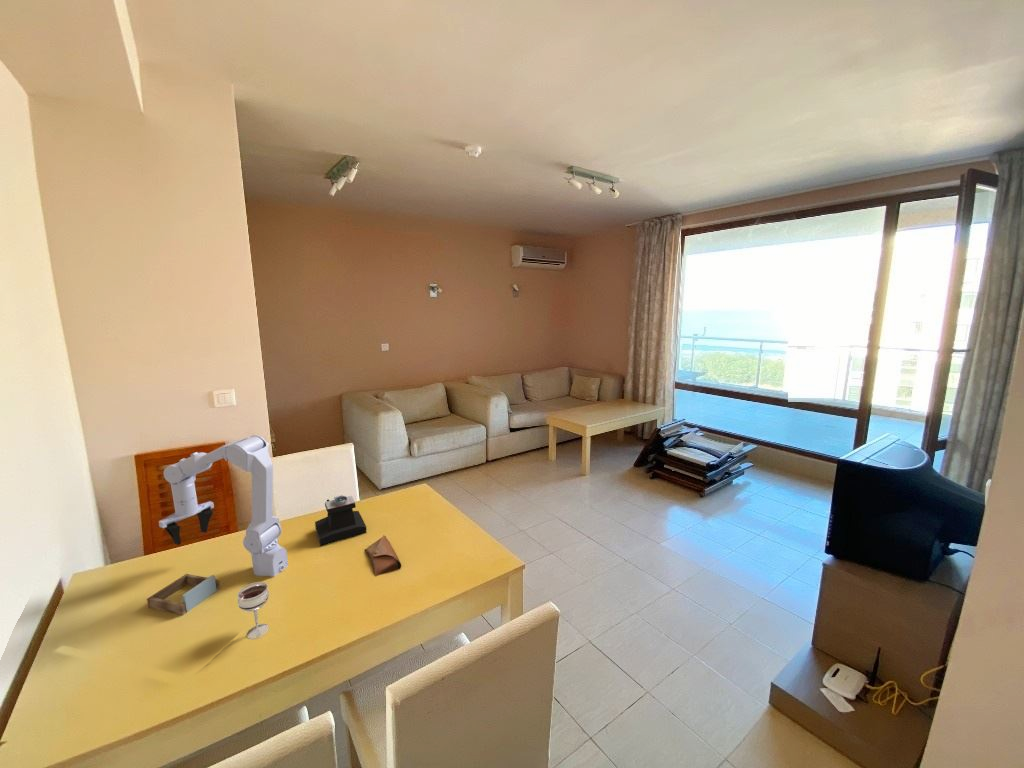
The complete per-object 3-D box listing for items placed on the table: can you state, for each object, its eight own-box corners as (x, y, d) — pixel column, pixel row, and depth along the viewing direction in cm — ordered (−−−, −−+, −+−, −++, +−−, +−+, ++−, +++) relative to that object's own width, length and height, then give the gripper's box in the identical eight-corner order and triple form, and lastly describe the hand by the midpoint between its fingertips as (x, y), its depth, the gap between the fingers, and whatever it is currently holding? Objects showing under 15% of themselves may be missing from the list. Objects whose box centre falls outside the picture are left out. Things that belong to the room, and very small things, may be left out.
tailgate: (216, 590, 120) (214, 575, 119) (187, 612, 111) (184, 595, 110) (214, 590, 120) (212, 575, 119) (184, 611, 111) (182, 595, 110)
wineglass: (266, 617, 111) (262, 578, 109) (277, 629, 107) (272, 589, 105) (238, 632, 106) (232, 591, 104) (247, 646, 102) (242, 603, 99)
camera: (317, 513, 141) (311, 493, 153) (320, 549, 145) (314, 526, 156) (365, 501, 149) (355, 483, 161) (366, 535, 153) (357, 515, 165)
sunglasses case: (362, 548, 143) (371, 531, 143) (380, 552, 146) (389, 535, 147) (375, 577, 128) (385, 557, 128) (395, 580, 131) (404, 561, 132)
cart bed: (220, 591, 121) (218, 579, 120) (183, 618, 110) (181, 605, 110) (188, 585, 124) (186, 573, 123) (149, 611, 113) (146, 598, 112)
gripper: (202, 487, 137) (208, 524, 140) (150, 505, 124) (157, 546, 127) (215, 491, 134) (220, 528, 137) (163, 510, 121) (170, 551, 124)
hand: (191, 537), depth 131 cm, fingers open, 7 cm apart
